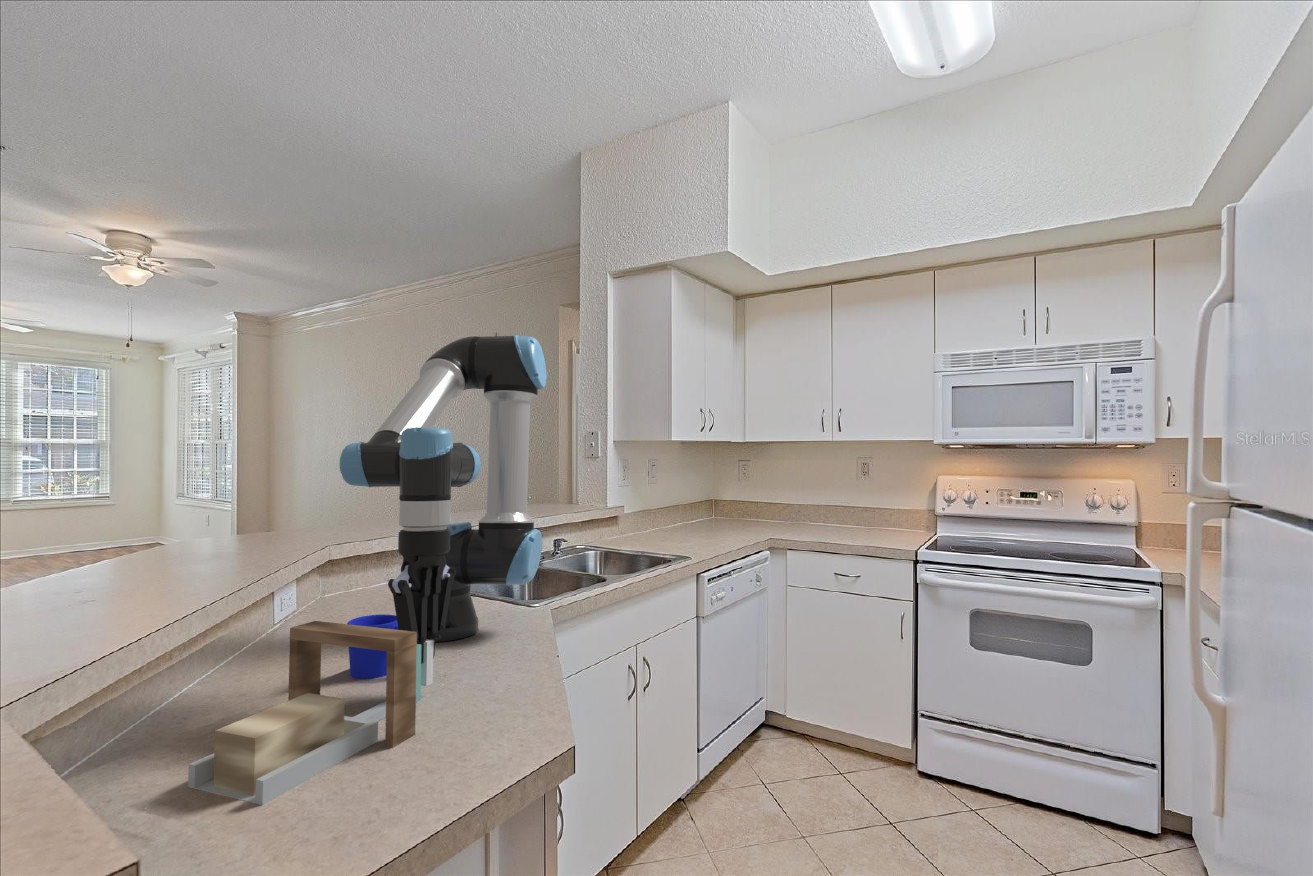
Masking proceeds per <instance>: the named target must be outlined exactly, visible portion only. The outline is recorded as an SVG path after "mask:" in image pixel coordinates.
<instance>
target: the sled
mask: <svg viewBox="0 0 1313 876" xmlns="http://www.w3.org/2000/svg"><path fill="white" fill-rule="evenodd" d="M421 686H422V685H421V645H420V644H417V654H416V703H417V702H419V701H421V700H422V699H421V698H422V697H421V696H422V695H421V692H422V691H421V690H422V688H421ZM383 719H386V700H384V702H381V703H379V704H377V705H375V706H373V707H371V708H369V709H367V710H364V711H362V712H360V713H358V714H356V715H354V716H348V715H344V735H343V736H341V737H339V738H337V739H335V740H333V741H331V742H329V743H327V744H325V745H323V746H321V747H319V748H317V749H315V750H313V751H311V752H309V753H307V754H305V755H303V756H301V757H299V758H297V759H295V760H293V761H291V762H290V763H288V764H286V765H284V766H282V767H280V768H278V769H276V770H274V771H272V772H270V773H268V774H266V775H264V776H262V777H260V778H258V779H256V795H254V796H252V795H248V794H244V793H240V792H236V791H231V790H227V789H223V788H219V787H215V786H214V752H213V753H211V754H209V755H207V756H205V757H202V758H200V759H199V760H195V761H192V762H191V763H188V777H187V779H188V780H187V781H188V782H187V786H188V787H187V788H189V789H194V790H199V791H202V792H206V793H210V794H214V795H215V794H216V795H219V796H222V797H225V798H231V799H235V800H239V801H243V802H247V803H252V804H256V805H260V806H265V805H266V804H267V803H270V802H271V801H272V800H275V799H276V798H278V797H280V796H282V795H284V794H286V793H288V792H289V791H291V790H292V789H294V788H297V787H298V786H300V785H302V784H303V783H306V782H307V781H309V780H311V779H313V778H314V777H316V776H318V775H320V774H323V772H325V771H327V770H328V769H330V768H332V767H334V766H336V765H338V764H339V763H341V762H342V761H345V760H347V759H348V758H350V757H352V756H354V755H356V754H357V753H360V752H361V751H363V750H364V749H366V748H368V747H370V746H372V745H373V744H375V743H377V742H378V741H379V738H378V737H379V721H381V720H383Z"/></svg>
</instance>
